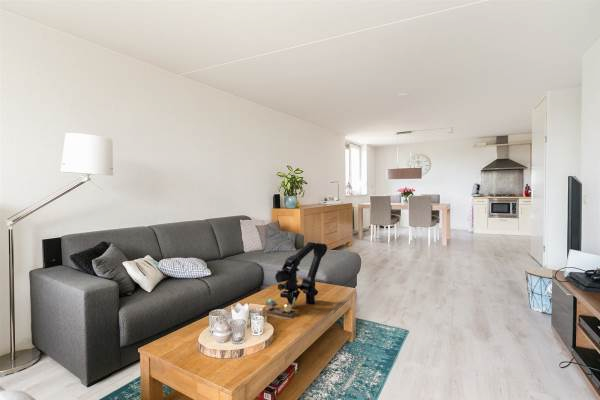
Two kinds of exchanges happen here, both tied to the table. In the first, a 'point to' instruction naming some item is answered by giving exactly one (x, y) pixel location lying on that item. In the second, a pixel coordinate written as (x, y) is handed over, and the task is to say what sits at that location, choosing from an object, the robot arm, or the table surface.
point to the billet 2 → (294, 302)
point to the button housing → (270, 303)
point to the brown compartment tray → (280, 313)
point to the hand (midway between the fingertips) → (292, 305)
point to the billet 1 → (287, 308)
